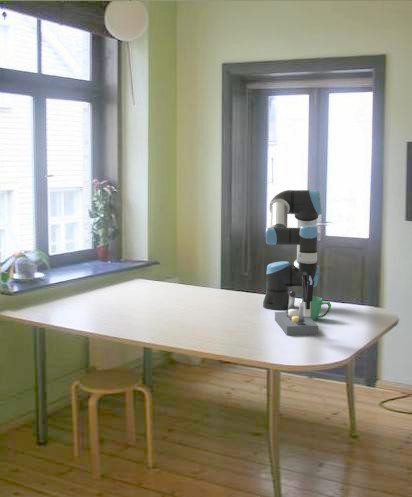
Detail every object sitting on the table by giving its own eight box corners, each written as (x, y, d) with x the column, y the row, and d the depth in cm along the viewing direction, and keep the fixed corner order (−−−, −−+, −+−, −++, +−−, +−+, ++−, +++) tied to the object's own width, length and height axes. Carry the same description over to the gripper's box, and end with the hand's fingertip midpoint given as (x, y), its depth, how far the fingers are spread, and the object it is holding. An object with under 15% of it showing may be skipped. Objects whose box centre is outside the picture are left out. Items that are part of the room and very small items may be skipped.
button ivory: (287, 317, 339) (287, 309, 338) (297, 317, 339) (297, 308, 338) (289, 319, 334) (289, 311, 333) (300, 319, 334) (300, 311, 334)
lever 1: (286, 309, 344) (288, 289, 338) (293, 309, 344) (295, 289, 339) (288, 312, 341) (290, 293, 336) (294, 312, 341) (296, 292, 336)
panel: (274, 320, 345) (274, 311, 345) (303, 319, 347) (303, 310, 346) (286, 335, 318) (287, 325, 317) (318, 334, 319) (318, 325, 319)
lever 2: (296, 319, 323) (298, 299, 318) (303, 319, 323) (305, 298, 318) (298, 323, 320) (300, 302, 315) (304, 323, 321) (307, 302, 315)
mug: (298, 319, 347) (298, 299, 345) (306, 315, 355) (307, 295, 353) (326, 323, 339) (327, 302, 337) (334, 319, 347) (335, 299, 345)
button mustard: (290, 324, 331) (290, 316, 331) (301, 324, 332) (301, 315, 331) (292, 327, 326) (292, 318, 326) (303, 326, 327) (303, 318, 326)
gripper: (296, 259, 312) (295, 312, 315) (302, 264, 299) (301, 320, 303) (312, 259, 313) (311, 312, 316) (320, 264, 300) (319, 319, 303)
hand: (307, 316), depth 309 cm, fingers closed
